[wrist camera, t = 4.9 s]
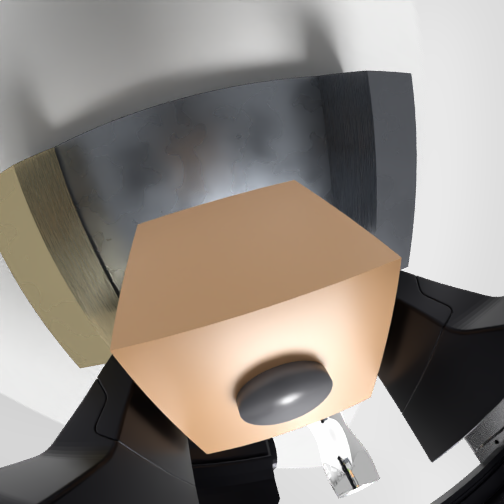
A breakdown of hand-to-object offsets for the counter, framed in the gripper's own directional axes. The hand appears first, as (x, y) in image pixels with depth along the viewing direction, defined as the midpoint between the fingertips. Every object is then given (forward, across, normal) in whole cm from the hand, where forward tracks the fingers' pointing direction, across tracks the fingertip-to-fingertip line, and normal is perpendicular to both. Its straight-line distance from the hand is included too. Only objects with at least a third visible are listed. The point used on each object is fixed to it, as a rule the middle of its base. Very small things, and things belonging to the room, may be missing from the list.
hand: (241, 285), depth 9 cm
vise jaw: (+9, +9, 0) cm, 13 cm away
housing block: (+1, 0, 0) cm, 1 cm away
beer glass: (+11, -8, +39) cm, 41 cm away
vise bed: (+11, 0, 0) cm, 11 cm away
